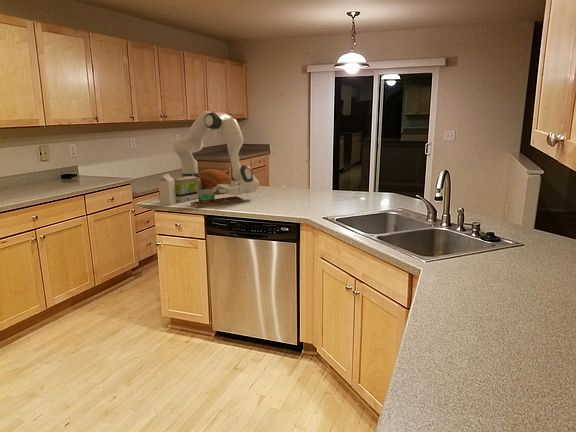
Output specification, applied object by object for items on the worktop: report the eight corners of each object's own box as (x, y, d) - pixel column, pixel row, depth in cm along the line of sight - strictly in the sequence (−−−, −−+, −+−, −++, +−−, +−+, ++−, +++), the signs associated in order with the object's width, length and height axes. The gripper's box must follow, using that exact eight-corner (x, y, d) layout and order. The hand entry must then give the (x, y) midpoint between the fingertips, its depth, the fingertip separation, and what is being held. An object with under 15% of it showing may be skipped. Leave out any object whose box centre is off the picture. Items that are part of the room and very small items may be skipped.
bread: (210, 186, 332) (209, 166, 329) (234, 192, 308) (233, 170, 304) (194, 188, 324) (193, 168, 320) (218, 194, 300) (216, 172, 296)
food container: (197, 206, 263) (196, 190, 261) (197, 204, 269) (195, 188, 267) (218, 204, 267) (217, 189, 264) (216, 202, 272) (215, 187, 270)
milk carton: (176, 202, 275) (173, 173, 270) (170, 205, 268) (167, 175, 264) (166, 202, 277) (163, 173, 272) (160, 204, 270) (157, 174, 266)
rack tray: (191, 205, 268) (190, 202, 267) (236, 199, 284) (236, 196, 284) (197, 208, 259) (197, 205, 259) (243, 201, 276) (243, 198, 275)
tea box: (182, 202, 276) (180, 179, 273) (172, 200, 282) (170, 178, 278) (199, 198, 288) (198, 176, 284) (190, 196, 294) (188, 175, 290)
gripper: (228, 180, 284) (209, 183, 277) (242, 185, 267) (222, 187, 260) (229, 190, 286) (209, 192, 278) (242, 195, 269) (222, 197, 262)
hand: (215, 190), depth 269 cm, fingers open, 8 cm apart
